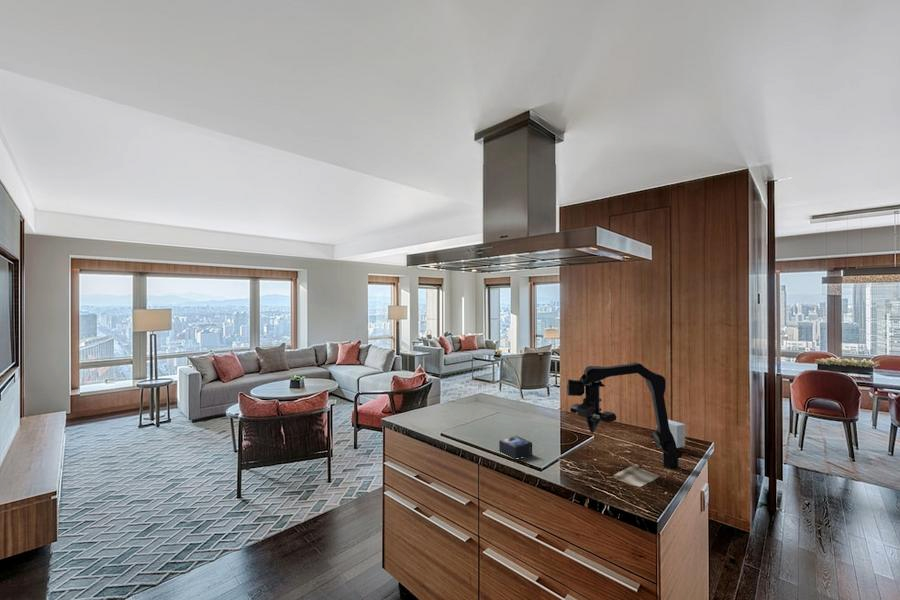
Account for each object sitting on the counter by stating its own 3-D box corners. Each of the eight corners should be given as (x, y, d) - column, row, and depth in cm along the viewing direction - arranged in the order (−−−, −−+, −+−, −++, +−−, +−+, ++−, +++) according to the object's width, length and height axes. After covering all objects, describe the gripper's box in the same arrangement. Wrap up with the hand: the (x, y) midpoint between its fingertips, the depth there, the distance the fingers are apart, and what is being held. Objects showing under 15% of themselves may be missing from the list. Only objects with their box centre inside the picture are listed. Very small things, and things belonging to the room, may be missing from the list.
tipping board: (635, 467, 154) (635, 464, 154) (659, 476, 146) (659, 472, 146) (613, 478, 145) (613, 474, 145) (638, 489, 137) (638, 484, 137)
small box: (532, 441, 165) (515, 447, 160) (533, 456, 165) (515, 462, 160) (515, 434, 174) (498, 439, 168) (516, 448, 174) (499, 454, 168)
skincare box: (685, 446, 176) (685, 423, 176) (677, 448, 173) (677, 425, 173) (664, 438, 186) (664, 417, 186) (655, 441, 183) (655, 419, 183)
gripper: (562, 394, 164) (562, 430, 164) (601, 404, 148) (601, 443, 149) (577, 390, 170) (578, 425, 170) (616, 399, 155) (617, 437, 155)
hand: (592, 432), depth 161 cm, fingers closed
